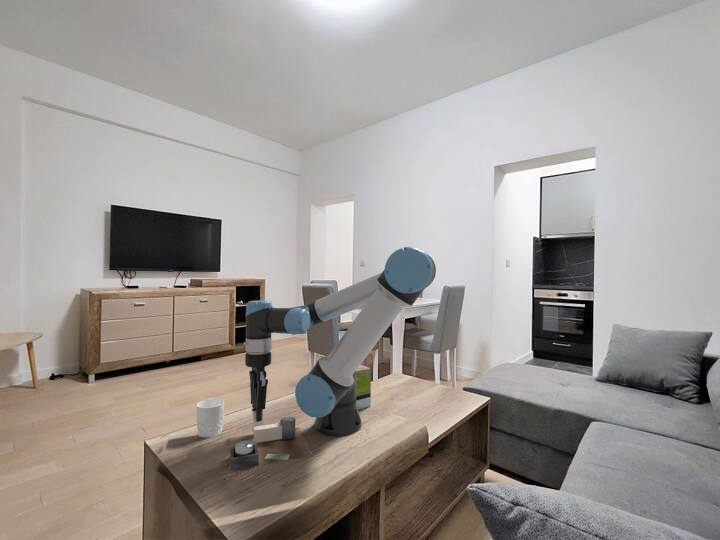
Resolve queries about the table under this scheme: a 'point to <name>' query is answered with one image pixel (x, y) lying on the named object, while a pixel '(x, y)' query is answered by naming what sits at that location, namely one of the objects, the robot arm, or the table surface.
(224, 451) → the table surface
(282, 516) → the table surface
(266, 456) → the board
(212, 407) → the white cup
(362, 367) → the tea box
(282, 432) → the peg lever
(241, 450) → the button
